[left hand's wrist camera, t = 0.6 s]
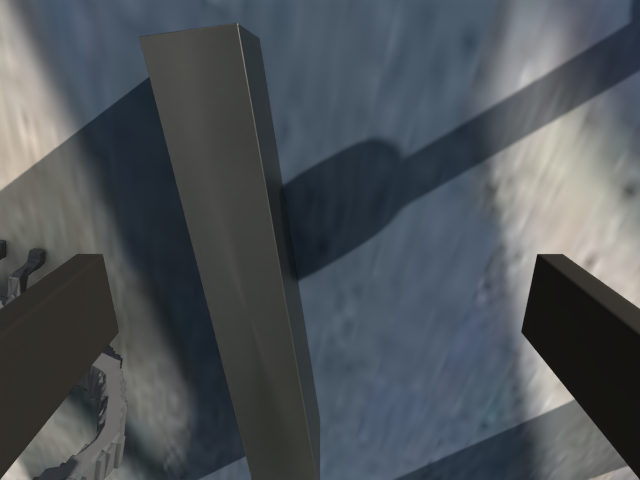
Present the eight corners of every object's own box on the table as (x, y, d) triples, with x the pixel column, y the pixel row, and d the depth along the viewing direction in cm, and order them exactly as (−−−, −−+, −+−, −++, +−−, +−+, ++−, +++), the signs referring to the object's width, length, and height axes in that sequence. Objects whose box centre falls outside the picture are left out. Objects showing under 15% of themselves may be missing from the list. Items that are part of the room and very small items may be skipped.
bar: (186, 47, 30) (138, 36, 22) (259, 37, 29) (237, 22, 22) (268, 424, 42) (257, 501, 35) (320, 419, 42) (320, 496, 34)
